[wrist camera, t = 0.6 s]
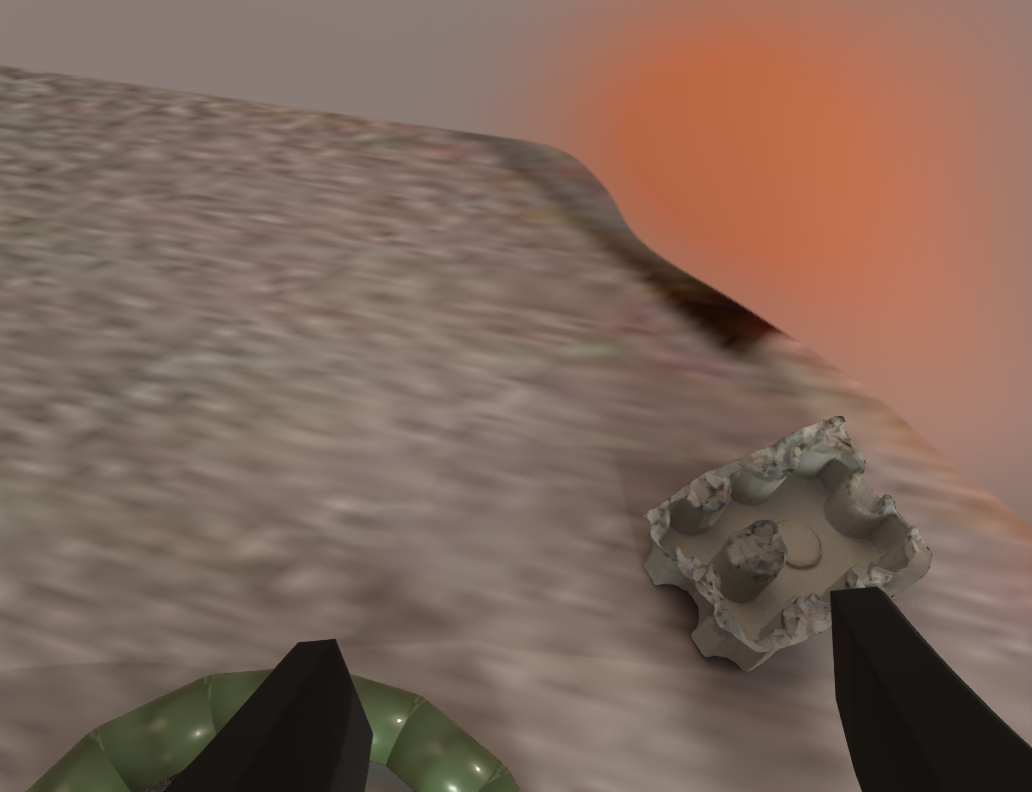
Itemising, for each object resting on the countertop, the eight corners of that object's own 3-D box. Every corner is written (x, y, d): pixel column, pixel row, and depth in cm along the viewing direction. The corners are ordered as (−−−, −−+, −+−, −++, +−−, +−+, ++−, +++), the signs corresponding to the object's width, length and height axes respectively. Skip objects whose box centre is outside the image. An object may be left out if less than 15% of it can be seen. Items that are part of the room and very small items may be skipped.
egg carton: (806, 456, 40) (848, 404, 37) (913, 596, 36) (969, 553, 33) (615, 530, 36) (642, 480, 32) (713, 697, 32) (755, 659, 29)
